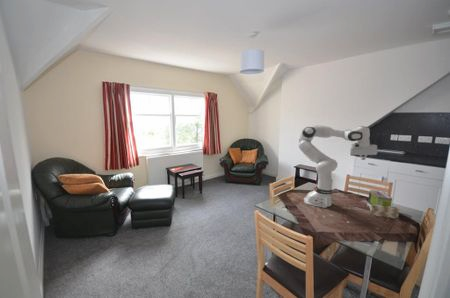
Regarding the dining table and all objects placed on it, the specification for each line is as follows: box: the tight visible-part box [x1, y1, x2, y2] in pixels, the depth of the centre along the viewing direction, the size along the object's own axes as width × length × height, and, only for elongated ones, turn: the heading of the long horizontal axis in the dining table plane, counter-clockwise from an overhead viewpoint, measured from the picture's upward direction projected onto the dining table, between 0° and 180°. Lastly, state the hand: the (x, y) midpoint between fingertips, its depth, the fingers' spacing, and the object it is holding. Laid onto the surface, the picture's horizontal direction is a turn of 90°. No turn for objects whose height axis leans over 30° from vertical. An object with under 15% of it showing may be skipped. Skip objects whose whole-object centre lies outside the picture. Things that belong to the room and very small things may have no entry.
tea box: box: [366, 189, 393, 209], centre depth 167 cm, size 15×10×15 cm
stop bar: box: [369, 204, 401, 219], centre depth 159 cm, size 18×3×8 cm, turn 75°
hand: (363, 159), depth 184 cm, fingers closed
